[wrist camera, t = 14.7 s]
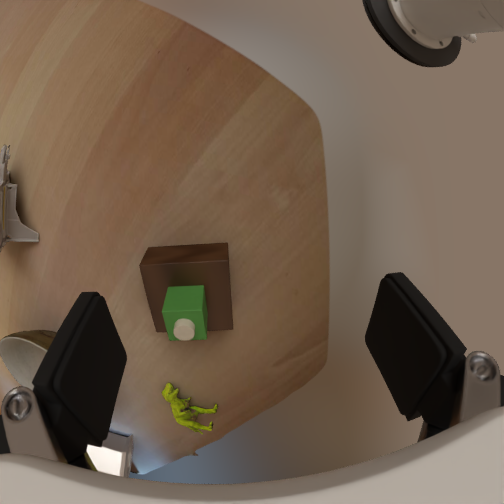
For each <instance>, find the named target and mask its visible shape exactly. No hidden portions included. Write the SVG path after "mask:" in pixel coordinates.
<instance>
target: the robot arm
mask: <svg viewBox="0 0 504 504" xmlns="http://www.w3.org/2000/svg"><path fill="white" fill-rule="evenodd" d="M387 2H388V5H389V8H390V11H391V13H392V15H393V17H394V18H395V20H396V22H397V23H398V24H399V26H400V27H401V28H402V29H403V30H404V31H405V33H406V34H407V35H408V36H410V37H411V38H412V39H413V40H414V41H416V42H417V43H419V44H420V45H422V46H424V47H427V48H430V49H441V48H444V47H447V46H448V45H449V44H450V42H451V41H452V38H453V36H458V37H464V38H465V39H466V40H468V41H470V42H472V43H474V42H476V39H477V38H476V35H475V33H484V32H497V31H504V0H387ZM365 342H366V345H367V347H368V349H369V351H370V353H371V354H372V357H373V358H374V360H375V362H376V364H377V366H378V368H379V370H380V372H381V374H382V376H383V378H384V380H385V382H386V384H387V386H388V388H389V390H390V392H391V394H392V396H393V399H394V401H395V403H396V405H397V407H398V409H399V411H400V413H401V414H402V415H405V416H406V418H407V421H410V420H413V419H415V418H418V417H420V416H422V418H423V420H424V421H423V425H422V428H421V432H420V435H419V439H418V442H417V443H415V444H413V445H410V446H408V447H405V448H403V449H400V450H398V451H395V452H393V453H390V454H387V455H384V456H381V457H378V458H375V459H372V460H369V461H365V462H362V463H359V464H355V465H351V466H348V467H344V468H340V469H336V470H332V471H328V472H323V473H318V474H313V475H308V476H302V477H296V478H290V479H283V480H275V481H266V482H256V483H242V484H183V483H168V482H157V481H149V480H141V479H133V478H128V477H122V476H117V475H112V474H106V473H101V472H98V471H97V469H96V467H95V466H94V464H93V462H92V460H91V458H90V457H89V455H88V453H87V446H88V445H91V446H96V447H101V448H102V443H103V440H106V439H107V437H108V432H109V428H110V423H111V419H112V415H113V410H114V406H115V402H116V398H117V394H118V390H119V387H120V383H121V379H122V376H123V372H124V368H125V365H126V361H127V355H126V351H125V349H124V347H123V344H122V342H121V340H120V337H119V335H118V332H117V330H116V327H115V325H114V322H113V320H112V317H111V315H110V312H109V309H108V306H107V304H106V301H105V299H104V297H103V296H100V294H99V293H98V292H82V293H81V294H80V295H79V297H78V299H77V300H76V302H75V303H74V305H73V307H72V308H71V310H70V312H69V313H68V315H67V317H66V318H65V320H64V322H63V323H62V325H61V327H60V329H59V330H58V332H57V334H56V336H55V337H54V339H53V341H52V343H51V345H50V347H49V349H48V350H47V352H46V354H45V356H44V358H43V360H42V362H41V364H40V366H39V368H38V370H37V372H36V374H35V376H34V378H33V381H32V384H33V385H34V388H33V390H31V389H30V388H28V387H25V386H19V387H16V388H13V389H12V390H10V391H9V392H8V393H7V394H6V396H5V397H4V399H3V401H2V406H1V413H2V415H0V504H504V376H502V375H500V370H499V366H498V364H497V362H496V361H495V359H494V358H493V357H491V356H490V355H489V354H487V353H485V352H482V351H474V352H472V353H470V354H469V355H468V356H467V358H466V357H465V355H464V353H465V351H466V350H467V348H466V347H465V346H464V345H463V343H462V342H461V341H460V339H459V338H458V337H457V336H456V334H455V333H454V332H453V330H452V329H451V328H450V327H449V325H448V324H447V323H446V322H445V321H444V320H443V318H442V317H441V316H440V314H439V313H438V312H437V311H436V310H435V309H434V307H433V306H432V305H431V304H430V303H429V301H428V300H427V299H426V298H425V297H424V296H423V295H422V294H421V292H420V291H419V290H418V289H417V288H416V287H415V286H414V285H413V283H412V282H411V281H410V280H409V279H408V278H407V277H406V276H405V275H404V274H403V273H401V272H398V273H390V274H386V276H385V277H384V278H383V279H382V280H381V282H380V286H379V289H378V293H377V297H376V301H375V304H374V308H373V311H372V315H371V318H370V322H369V325H368V328H367V331H366V335H365Z"/></svg>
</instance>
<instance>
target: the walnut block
mask: <svg viewBox="0 0 504 504" xmlns="http://www.w3.org/2000/svg"><path fill="white" fill-rule="evenodd" d="M139 266H140V270H141V275H142V279H143V283H144V287H145V291H146V295H147V299H148V303H149V307H150V310H151V314H152V318H153V321H154V325H155V328H156V332H167V330H166V326H165V322H164V318H163V314H162V309H163V305H164V301H165V297H166V293H167V289H168V287H177V286H198V285H204V290H205V298H206V305H207V313H208V317H207V331H215V330H232V329H233V319H232V305H231V290H230V274H229V257H228V243H213V244H196V245H180V246H164V247H148V249H147V251H146V253H145V255H144V257H143V259H142V261H141V263H140V265H139Z"/></svg>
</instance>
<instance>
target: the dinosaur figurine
mask: <svg viewBox="0 0 504 504" xmlns="http://www.w3.org/2000/svg"><path fill="white" fill-rule="evenodd" d="M178 392H179V390H178V389H177V388H176V389H174V388H173V386H172V384H171V383H167V384H166V387H165V389H164V390H163V391H162V395H163V397H164V399H165V400H166V401H168V402H170V403H171V405H170V406H171V408H172V412H173V415H174V417H175V419H176V421H177V423H179V424H181V425H183V426H186V427H188V428H190V429H191V430H193V431H195V432H200V433H201V434H203V433H202V432H201V431H200V430H198V429H202V430H209V431H212V428H213V422H210V424H209V426H208V427H207V426H204V425H201V424H200V423H197V422H195V421H196V419H197V415H198V414H199V413H200V414H204V413H209V414H211V413H216V412H217V408H218V405H217V404H215V407H214V408H213V409H204V408H199V407H197V406H189V402H190V400H191V397H190V398H188V399H179V398H177V394H178Z"/></svg>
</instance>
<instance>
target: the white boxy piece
mask: <svg viewBox="0 0 504 504" xmlns="http://www.w3.org/2000/svg"><path fill="white" fill-rule="evenodd" d="M87 453H88V455H89V457H90V458H91V460H92V462H93V464H94V466H95V467H96V469H97V471H98V472H101V473H106V474H112V475H117V476H122V477H129V474H130V469H131V460H132V453H133V436H132V435H130V436H129V437H124V436H121V435H117V434H114V433H111V432H108V437H107V439H106V440H103V443H102V448H101V447H96V446H91V445H88V446H87Z"/></svg>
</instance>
